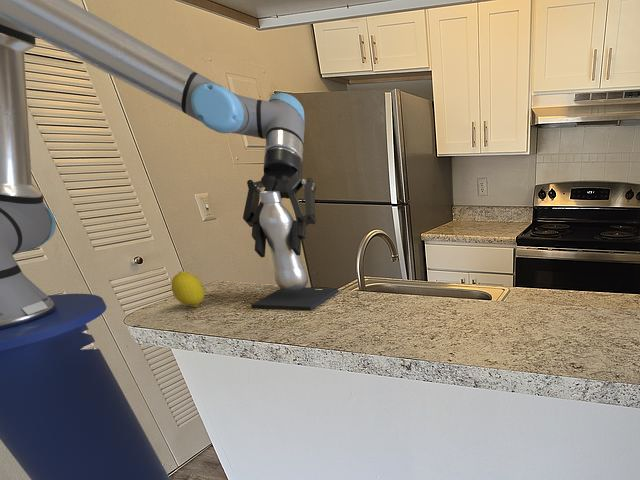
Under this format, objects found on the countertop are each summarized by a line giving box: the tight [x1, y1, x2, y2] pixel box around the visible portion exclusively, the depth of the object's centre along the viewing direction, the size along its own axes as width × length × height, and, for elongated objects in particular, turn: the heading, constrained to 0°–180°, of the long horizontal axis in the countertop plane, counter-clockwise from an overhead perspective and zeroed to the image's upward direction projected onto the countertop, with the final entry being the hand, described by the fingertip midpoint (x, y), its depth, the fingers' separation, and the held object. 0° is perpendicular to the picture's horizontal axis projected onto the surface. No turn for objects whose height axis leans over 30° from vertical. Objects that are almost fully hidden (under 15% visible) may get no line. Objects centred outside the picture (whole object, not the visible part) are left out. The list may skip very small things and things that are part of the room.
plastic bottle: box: [259, 191, 309, 290], centre depth 84 cm, size 6×7×20 cm
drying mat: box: [250, 286, 339, 311], centre depth 90 cm, size 14×12×1 cm
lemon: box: [170, 270, 206, 308], centre depth 86 cm, size 6×6×8 cm
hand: (277, 252), depth 82 cm, fingers closed on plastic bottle, 6 cm apart
